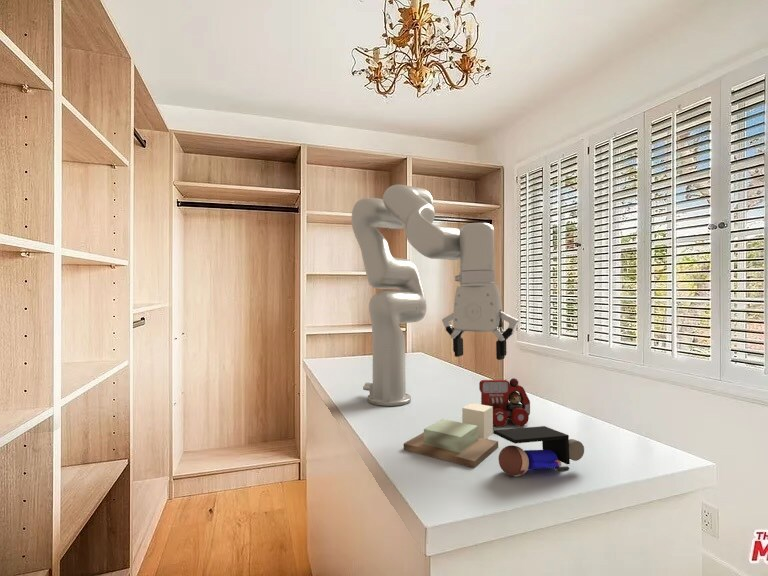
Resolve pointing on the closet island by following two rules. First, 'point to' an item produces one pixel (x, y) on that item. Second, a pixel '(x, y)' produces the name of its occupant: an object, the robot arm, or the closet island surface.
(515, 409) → the toy fire truck
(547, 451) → the figurine character
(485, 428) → the cream block
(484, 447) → the base
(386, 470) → the closet island surface
